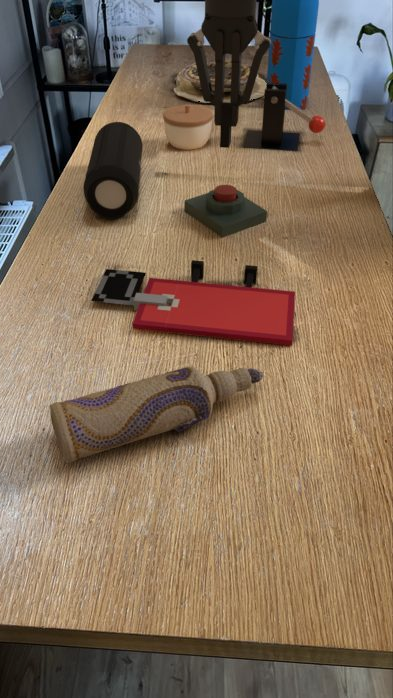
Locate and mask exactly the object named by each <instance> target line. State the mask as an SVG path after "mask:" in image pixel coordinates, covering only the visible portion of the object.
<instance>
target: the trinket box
mask: <svg viewBox="0 0 393 698" xmlns="http://www.w3.org/2000/svg"><path fill="white" fill-rule="evenodd" d="M162 118H163V119H162V120H163V128H164V133H165V137H166V139H167V141H168V142H169V144H170V145H171V146H172V147H173V148H175V149H179V150H197V149H200V148H203V147H204V146H205V145H206V144H207V143H208V141H209V139H210V136H211V133H212V126H213V111H212V110H211V109H210V108H208V107H206V106H203V105H198V104H180V105H174V106H171V107H168V108H167V109H165V110H164V111H163V113H162Z"/></svg>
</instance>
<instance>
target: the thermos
mask: <svg viewBox="0 0 393 698" xmlns="http://www.w3.org/2000/svg"><path fill="white" fill-rule="evenodd" d="M319 6H320V0H272V1H271V12H270V25H269V27H270V28H269V37H270V38H271V44H270V47H269V48H268V55H267V69H266V70H267V71H266V82H267V83H282V84H287V94H286V99H287V100H288V101H289V102H291V103H292V104H294V105H295V106H297V107H298V108H299V109H301V110H302V111H304V110H305V109H306V108H307V106H308V105H307V104H308V99H309V93H310V86H311V85H310V84H311V77H312V68H313V60H314V50H315V43H316V33H317V23H318V15H319V8H320V7H319ZM285 111H291V110H290V109H289V108H287V107H286V106H285Z"/></svg>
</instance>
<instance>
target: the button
mask: <svg viewBox="0 0 393 698" xmlns="http://www.w3.org/2000/svg"><path fill="white" fill-rule="evenodd" d="M213 190H214V199H215V200H216V201H218V202H223V203H226V202H233V201H235V200H236V195H237V190H238V189H237V187H235V186H234V185H231V184H220V185H217V186H216V187H215V188H214V189H213Z"/></svg>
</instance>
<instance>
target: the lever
mask: <svg viewBox="0 0 393 698" xmlns="http://www.w3.org/2000/svg"><path fill="white" fill-rule="evenodd" d="M272 89H278V88H277V87H275V86H273V87H272ZM285 106H286V107H287V108H289V109H290V110H289V111H292V112H293V113H294V114H295V115H297V116H299V117H300V118H302V119H303V120H304V121H306V122H307V123H308V129H309V131H310V132H311V133H314V134H320V133H322V132H323V131H324V130H325V128H326V120H325V118H324V117H323V116H321V115H314V116H312V115H309V114H308V113H307V112H305V111H304V110H301V109H299V108H298V107H297V106H295V105H294V104H292V103H291V102H289V101H288V100H287V99H285Z"/></svg>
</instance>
